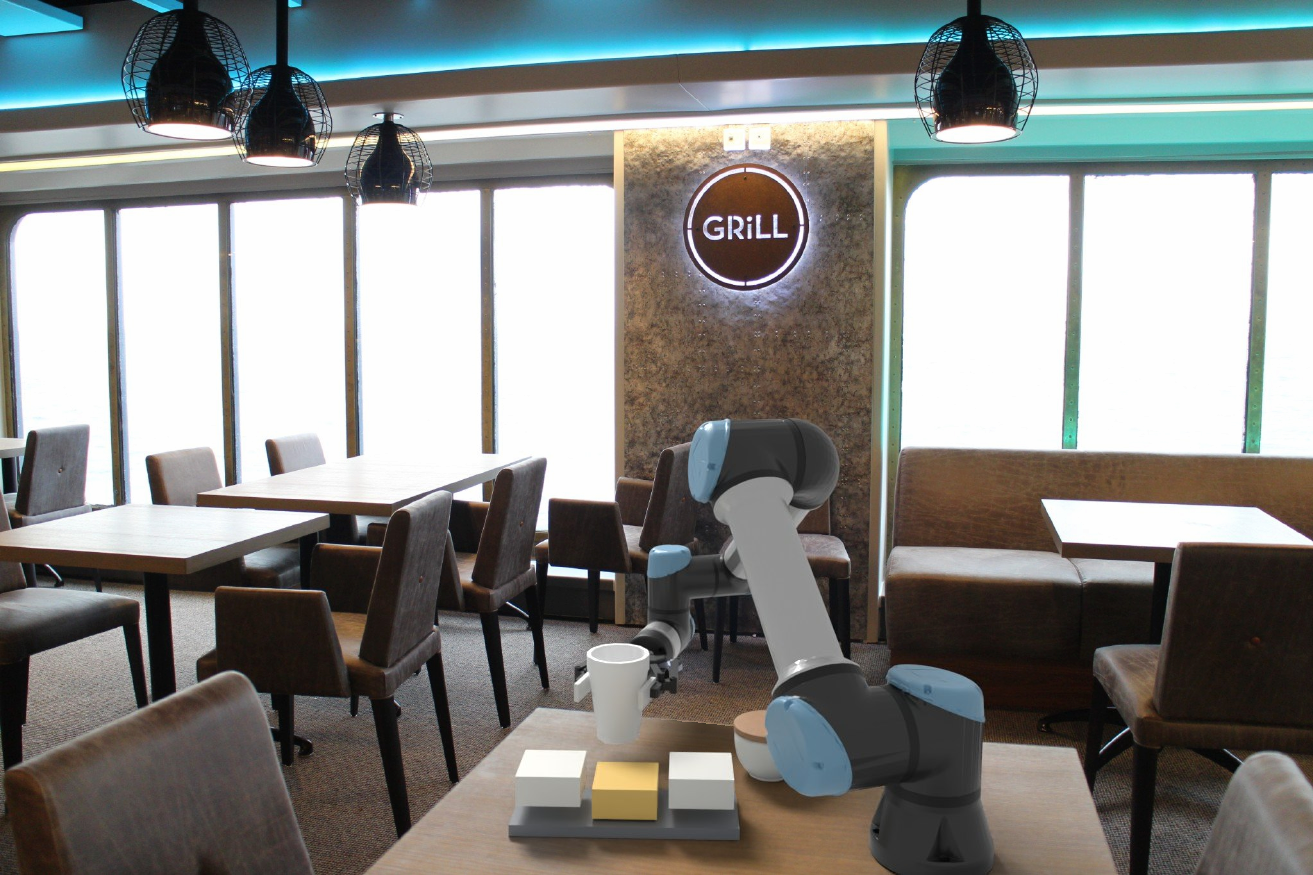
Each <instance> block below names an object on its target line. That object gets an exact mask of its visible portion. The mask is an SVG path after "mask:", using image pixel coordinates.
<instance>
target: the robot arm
mask: <svg viewBox="0 0 1313 875" xmlns="http://www.w3.org/2000/svg"><path fill="white" fill-rule="evenodd" d="M690 444H691V445H690V447H689V448H690V449H689V454H688V461H687V462H688V464H687V477H688V486H689V491H690V495H691V497H692V498H693V500H695V501H697V502H698V503H699V502H700V503H702V504H707V503H710V505H711V507H712V511H713V515H714V517H715V519H716V520H717V521H718V522H720V523H721V524H723V525H727V526H729V529H730V532H731V536H732V538H733V539H732V540H731V542H730V543H729V545H728V546H727V548H726V549H725V550H724V552H723V553H718V554H717V553H716V554H705V555H704V554H703V555H692V554H691V550H690V549H689V547H687V546H685V545H680V544H662V545H657V546H653V548H651V549H650V551H649V553H648V559H647V560H648V562H647V570H646V575H647V623H646V625H645V627H644V628H642V629H641V630H640V631H639V632H638V633H636V635H635V636H634V637H633V638H632V639H631V640H630V641H629V642H628V643H627V644H633V645H638V646H641V647H643V648H645V649H647V650H648V652H649V670H648V674H647V681H646V683H645V684H644V686H643V687H642V688H641V689H640V690H639V691H638V709H639V710H642V711H644V710H645V708H646V707H647V706H648V705H649V703H650V702H651V701H652V700H653V699H658V698H660V696H661V695H662V694H663V695H664V694H665V692H668V694H672V695H676V694H677V693H678V685H679V677H680V676H681V675H683V658H682V657H678V656H679V655H680V653H682V652H683V651H684V650H686V649H687V647H688V646H689V645H690V643H691V641H692V640H693V637H694V634H695V630H696V624H695V621H694V618H693V617H692V614H691V600H693V599H694V600H695V599H703V598H713V597H715V598H716V597H727V596H728V597H729V596H730V597H731V596H740V595H743V596H748V595H751V597H752V600H753V603H754V606H755V609H756V612H757V616H758V618H759V621H760V624H761V628H762V630H763V634H764V637H765V640H766V642H767V646H768V650H769V652H770V655H771V658H772V662H773V664H774V668H775V671H776V673H777V676H778V680H777V682H776V683H775V685H774V687H773V689H772V691H771V698H772V701H771V702H770V704H769V705H768V706H767V708H766V710H767V711H766V715H765V728H766V730H767V732H768V734H766V740H767V744H768V748H769V751H770V754H771V757H772V759H773V762H774V764H775V766H776V768H777V770H778V771H779V773H780V775H781V776H782V778H783V779H784V780H783V781H785V783H787V785H788V786H789V787H790V788H791V789H794V790H795V791H796V792H797V793H799V794H800V795H803V796H806V797H813V798H814V797H823V796H834V797H835V796H842V795H844V794H845V793H850V792H856V791H863V790H867V789H868V790H869V789H873V788H878V787H879V788H880V787H884V788H883V791H882V793H881V796H880V799H879V801H878V804H877V805H876V809H875V812H874V815H873V817H872V820H871V822H870V825H869V835H868V837H869V838H868V848H869V851H870V853H871V855H872V856H873V858H874V859H875V860H876V861H877V862H878V863H879V864H881V865H882V866H883V867H885V868H887V869H888V870H890V871H892V872H895V873H896V874H898V875H987V874H989V873H990V871H991V870H992V868H993V866H994V854H995V845H994V841H993V840H994V839H993V835H992V834H991V830H990V827H989V822H988V819H987V816H986V813H985V810H984V805H983V803H982V774H983V773H982V772H983V771H982V769H983V745H984V742H983V741H984V728H985V727H984V726H985V722H986V717H985V708H984V705H985V704H984V695H983V691H982V689H981V688H980V686H978V684H977V683H975V682H974V681H973V680H972V679H969V678H967V677H966V676H964V675H962V674H958V673H956V672H953V671H950V670H946V669H942V668H939V667H933V666H928V665H921V664H911V663H909V664H897V665H893V666H892V667H890V668H889V669H888V671H887V675H885V680H886V682H887V683H885V684H880V685H873V686H872V685H870V686H869V685H868V683H867V681H866V678H865V676H864V673H863V671H862V667H861V666H860V665H859V663H857V662H854V661H853V660H850V659H849V658H846V657H844V654H843V652H842V649H841V646H840V643H839V641H838V638H837V635H836V633H835V630H834V628H833V624H832V621H831V619H830V617H829V614H828V611H827V608H826V606H825V605H826V604H825V603H824V600H823V598H822V594H821V591H820V589H819V586H818V585H817V581H816V578H815V576H814V573H813V571H812V568H811V565H810V563H809V560H808V557H807V555H806V552H805V549H804V547H803V543H802V541H801V538H800V536H799V533H798V530H797V528H798V527H799V525H800V524H801V522H802V521H803V520H804V518H805V517H806V516H807V515H808V513H809V512H810V511H813V510H817V509H818V508H820V507H821V506H823V505H824V504H825V502H826V501H827V499H828V498H830V496H831V494H832V493H833V491H834V489H835V488H836V485H837V482H838V480H839V475H840V459H839V455H838V451H837V448H836V446H835V444H834V443H833V441H832V439H831V437H829V435H828V434H827V433H826V432H825V431H824V430H823V429H822V428H820V427H819V426H817V425H816V424H814V423H813V422H811V421H808V420H804V419H800V418H794V417H792V418H791V417H789V418H787V417H786V418H767V419H763V418H761V419H729V418H725V419H723V420H710V421H706V422H704V423H702V424H701V425H700V426H699V427H698V428H697V429H696V431H695V433H694V435H693V438H692V440H691V443H690ZM573 671H574V672H573V673H574V684H573V703H574V702H575V703H580V702H581V701H582V700H583V699H584V697H586V696H587V695H588V694H589V693H590V692H591V684H590V677H589V672H588V670H587V659H586V660H585V661H582V662H580V663H578V664H576V665H574V670H573ZM666 671H668V672H669V677H668V678H665V677H666V676H665V675H666V674H665V673H666Z"/></svg>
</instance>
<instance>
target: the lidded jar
mask: <svg viewBox="0 0 1313 875" xmlns="http://www.w3.org/2000/svg"><path fill="white" fill-rule="evenodd" d="M766 711H767V709H761V710H760V709H757V710H751V711H747V712H744V713H741V714H739V715H738V716H736V717H735V719H733V732H734V733H733V734H734V736H733V737H734V747H735V752H736V756H737V758H738V761H739V763H740V764H741V766H742V767H743V768H744V769H745V771H747V772H748V775H749V777H751V778H753V779H755V780H758V781H761V782H766V783H767V782H769V783H771V782H772V783H774V782H775V783H776V782H780V781H785V780H784V779H783V778H782V776H781V775H780V773H779V771H778V770H777V768H776V766H775V764H774V762H773V759H772V757H771V754H770V751H769V748H768V744H767V740H766V734H768V732H767V730H766V728H765V715H766Z"/></svg>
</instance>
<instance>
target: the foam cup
mask: <svg viewBox="0 0 1313 875" xmlns="http://www.w3.org/2000/svg"><path fill="white" fill-rule="evenodd" d="M586 660H587V670H588V672H589V677H590V684H591V691H590V692H591V700H592V707H593V715H594V720H595V728H596V729H595V730H596V736H597V740H598V741H600V742H601V743H603V744H607V745H612V746H613V745H614V746H616V745H617V746H621V745H622V746H623V745H627V744H632V743H633V742H636V741H637V740H638V739H639V738H640V736H639V735H640V733H641V732H640V731H641V726H642V718H643V710H639V709H638V691H639V690H640V689H641V688H642V687H643V686H644V684H645V683H646V682H647V681H648V679H647V674H648V670H649V652H648V650H647V649H645V648H643V647H641V646H638V645H633V644H628V643H621V642H620V643H617V642H616V643H614V642H613V643H606V644H599V645H597V646H594V647H591V648H590V649H589V650H587V651H586Z"/></svg>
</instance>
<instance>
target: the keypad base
mask: <svg viewBox="0 0 1313 875" xmlns="http://www.w3.org/2000/svg"><path fill="white" fill-rule="evenodd" d="M740 830H741V828H740V820H739V811H738V803H737V793H736V790H734V810H727V809H669V789H661V788H660V789H659V791H658V808H657V820H638V819H592V787H591V788H589V787H585V788H584V792H583V797H582V801H581V805H580V807H550V806H515V807H514V810H513V812H512V815H511V818H510V820H509V823H508V837H530V838H531V837H533V838H534V837H539V838H545V837H546V838H586V839H587V838H588V839H589V838H590V839H591V838H595V839H599V838H601V839H603V838H605V839H611V838H612V839H646V840H647V839H648V840H649V839H650V840H657V839H658V840H704V841H705V840H706V841H707V840H709V841H741V840H740V834H741V833H740V832H741V831H740Z"/></svg>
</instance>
